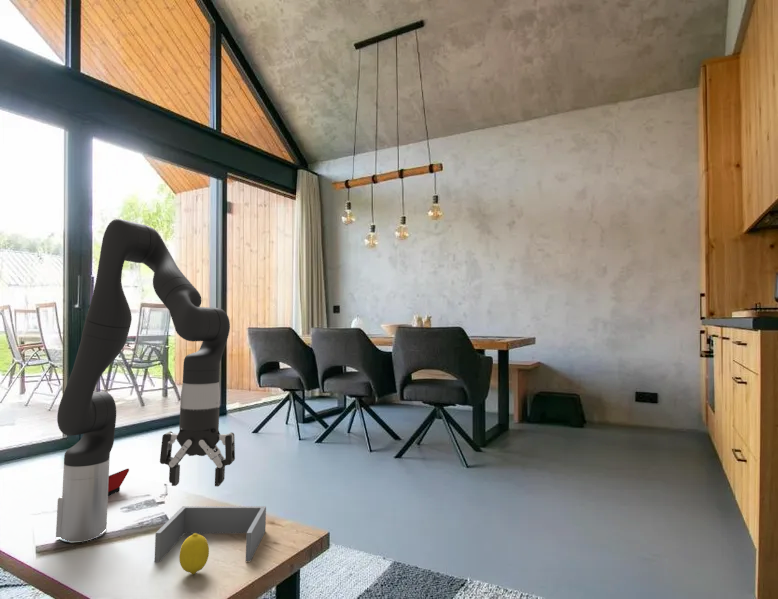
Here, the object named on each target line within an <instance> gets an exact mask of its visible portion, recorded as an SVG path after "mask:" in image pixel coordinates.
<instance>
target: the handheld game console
mask: <svg viewBox="0 0 778 599" xmlns="http://www.w3.org/2000/svg"><path fill="white" fill-rule="evenodd" d="M129 472H130V468H125V469H122V470H120V471H118V472H115V473H113V474H109V482H108V497H110V496H113V495H114V494H117V493H119V492H120V490H121V486H122V484H123V482H124V481H125V479H126V477H127V475H128V473H129Z"/></svg>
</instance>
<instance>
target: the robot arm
mask: <svg viewBox="0 0 778 599" xmlns="http://www.w3.org/2000/svg"><path fill="white" fill-rule="evenodd" d="M125 262H130V263H136V264H144V265H145V266H147V268H149V269H150V270H151V271H152V272H153V276H152V277H153V278H152V286H153V289H154V292H155V295H157V297H158V299H160V301H161V302H162V303H163V305H164V307H166V308H167V310H168V312H169V315H170V317H171V320H172V323H173V326H174V329H175V332H176V333H177V335H178V336H179V337H180V338H182V339H183V340H185V341H187V342H201V345H200V348H199V349H198V350H197V351H194V352H192V353H189V354H187V355H185V357H184V359H183V366H182V368H183V369H182V386H181V392H180V404H179V429H178V430H179V431H178V433H175V432H172V431H171V430H170V431H168V432H166V433H165V434H162V437H161V446H160V455H159V463H160V464H162V465H164V464H165V465H167V466H168V468H169V474H168V481H169V483H170V484H171V486H172V487H177V486H178V485H179V483H180V476H181V472H180V471H181V464H180V462H181V461H182V460H183V459H184V457H185V456H186V455H188V456H189V457H193V456H198V457H199V456H200V457H205V456H207V457H208V459H210V460H211V461H212V462H213V464H214V465H215V466H216V467H215V470H214V487H220V486H221V484H222V483H223V482H224V481H225V473H226V472H225V471H226V466H230V465H231V464H232V463H233V462H234V461H235V459H236V450H235V449H236V447H235V446H236V445H235V444H236V443H235V442H236V441H235V440H236V439H235V433H234V432H229V433H223V434H222V433H220V428H219V427H220V407H221V406H220V404H221V389H220V373H221V372H220V369H221V366H220V365H221V360H222V358H223V354H224V351H225V347H226V344H227V342H228V338H229V334H230V330H231V323H230V319H229V316H228V314H227V312H226V311H225V310H224V309H222V308H219V307H205V306H201V304H202V296H201V294H200V292H199V291H198V290H197V288H196V287H195V286H194V285H193V284H192V283H191V281H190V280H189V279H188V278H187V276H185V275H184V274H183V272H182V271H181V269H180V268H179V267H178V265H177V263H176V262H175V260H174V258H173V256H172V254H171V252H170V251H169V249H168V248H167V245H166V244H165V242H164V240H163V238H162V236H161V235H160V233H159V232H158V231H157V229H155V228H153V227H151V226H149V225H146V224H142V223H138V222H134V221H130V220H126V219H122V218H115V219H113V220H111V221H110V222H109V223H108V224H107V227H106V228H105V231H104V234H103V237H102V241H101V247H100V252H99V260H98V267H97V272H96V273H97V274H96V277H95V278H96V279H95V284H94V288H93V292H92V296H91V300H90V305H89V307H88V311H87V312H86V317H85V321H84V324H83V328H82V332H81V339H80V343H79V346H78V350H77V353H76V357H75V360H74V363H73V368H72V371H71V373H70V375H69V379H68V381H67V384H66V386H65V389H64V391H63V394H62V395H61V396H62V397H61V399H60V403H59V404H58V409H57V414H56V415H57V417H56V420H57V426H58V429H59V431H60V432H61V433H62V434H64V435H65V436H80V435H82V437H81V438H80V440H79V441H77V442H76V443H75V444H74V445H72V446H71V447H70V448H67V450H65V452H64V457H63V471H62V472H63V475H62V476H63V477H62V491H61V492H62V495H61V496H59V497H58V499H57V507H56V508H57V509H56V525H55V527H56V528H55V538H56V537H61V538H62V539H65V540H67V541H68V540H69V541H84V540H88V539H91V538H94V537H96V536H97V535H99V534H100V533H102V532H103V531H104V530H105V529H106V530H107V524H108V523H107V522H108V521H107V520H108V504H109V503H108V502H109V500H108V499H109V496H108V482H109V476H110V454H111V450H112V449H113V447H114V443H115V442H114V441H115V434H116V423H117V422H116V421H117V404H116V401H115V400H114V396H112V395H111V394H110V393H109V392H106V391H95V389H96V387H97V384H98V382H99V380H100V378H101V376H102V375H103V373H104V372H105V371H106V369H108V368H109V367H110V365H111V364H112V363H113V362H114V361H115V360H116V358H117V357H118V356H119V355H120V353H121V352H122V351H123V349H124V347H125V345H126V343H127V340H128V337H129V333H130V329H131V325H132V319H133V318H132V312H131V308H130V305H129V302H128V300H127V298H126V295H125V292H124V288H123V284H122V275H123V270H124V269H123V268H124V264H125ZM176 441H177V442H178V444H179V445H180V448H179V450H178V451H177V452H176V453H175V454H174V456H172V451H173V450H172V449H173V444H174V443H175V442H176ZM220 441H221V444H222V445H223V446H224V447H225V448H224V449H225V451H224V453H225V454H224V455H225V457H224V456H223V454H222V452H221V450H220V448H219V447H218V445H217V444H218V443H219V442H220Z"/></svg>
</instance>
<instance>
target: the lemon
mask: <svg viewBox="0 0 778 599" xmlns="http://www.w3.org/2000/svg"><path fill="white" fill-rule="evenodd" d="M209 555H210V546H209V542H208V540H207V539H206V537H205V536H203V535H201V534H200V533H192V534H191V535H190V536H188V537H187V538H185V540H184V541H183V542H182V544H181V546H180V550H179V564H180V567H181V569H182V570H183V571H185V572H186V573H190V574H191V575H195V574H197V572H199V571H201V570H202V569H203V568H204V567H205V565H206V564H207V562H208V561H209V560H208V559H209Z"/></svg>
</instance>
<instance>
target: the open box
mask: <svg viewBox="0 0 778 599" xmlns="http://www.w3.org/2000/svg"><path fill="white" fill-rule="evenodd" d="M266 517H267V506H266V505H265V506H264V505H261V506H260V505H259V506H258V505H251V506H250V505H246V506H244V505H243V506H241V505H238V506H236V505H235V506H234V505H231V506H230V505H229V506H228V505H227V506H225V505H224V506H223V505H221V506H220V505H219V506H217V505H214V506H213V505H210V506H209V505H208V506H207V505H206V506H204V505H203V506H199V505H198V506H197V505H195V506H193V505H191V506H190V505H187V506H186V505H185V506H181V507H180V508H179V509H178V510H177V511H176V512H175V513H174V514H173V515H172V516H171V517H170V518H169V519H168V520H167V521H166V522H165V523H164V524H163V525H162V526H161V527H160V528H159V529H158V530H157V531H156V532H155V537H154V538H155V542H154V561H153V562H154V563H160V562H161V561H162V560H163V558H165V556H166V555H167V554H168V553H169V552H170V550H171V549H172V548H173V547H174V546H175V545H176V544H177V542H179V541H180V539H181V538H182V537H183V536H184V534H194V533H197V534H245V535H246V536H245V539H246V540H245V541H246V542H245V562H246V561H250V562H251V561H252V559H253V558H254V555H255V553H256V551H257V549H258V547H259V545H260V543H261V541H262V539H263V537H264V535H265V533H266V521H267V518H266Z"/></svg>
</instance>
